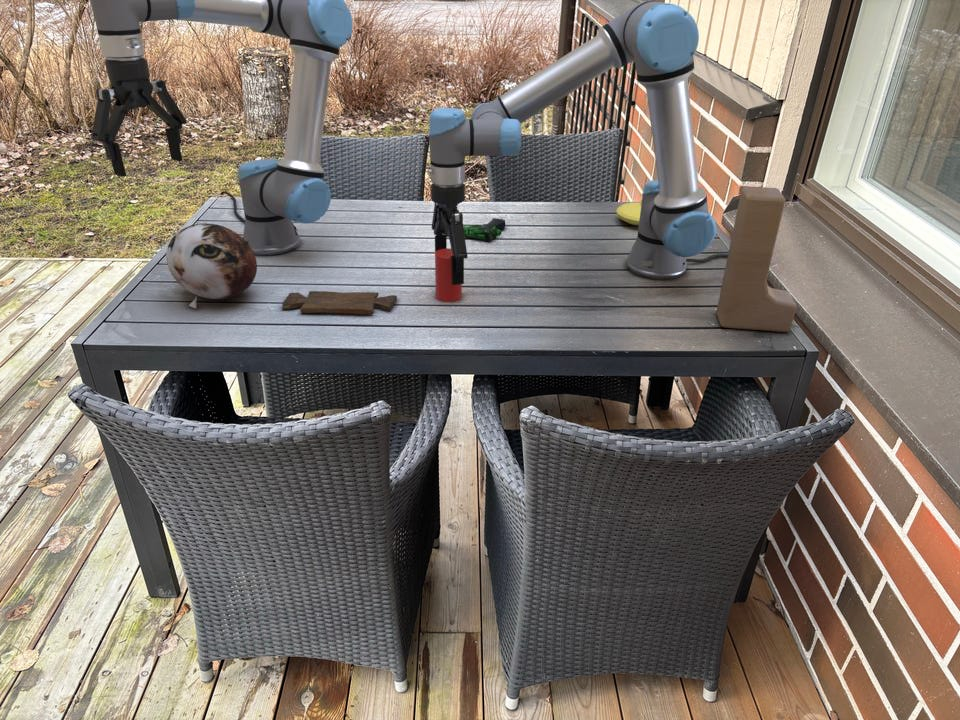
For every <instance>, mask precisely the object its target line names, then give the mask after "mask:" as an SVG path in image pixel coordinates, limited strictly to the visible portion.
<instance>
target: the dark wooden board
mask: <svg viewBox="0 0 960 720" xmlns="http://www.w3.org/2000/svg"><path fill="white" fill-rule="evenodd" d="M379 294H380V293H379V292H375V291H357V292H356V291H354V292H353V291H352V292H351V291H349V292H348V291H347V292H342V291H341V292H340V291H325V290H324V291H323V290H322V291H321V290H320V291H318V290H309V291H308V295H307V296H305V295H303V294H301V293H300V292H289V293H288V295H287V296H286V298H285V299H284V300H283V302H282V305H281V306H282V307H281V309H283V310H293V309H294V310H295V309H298V308H300V309H299V310H300V313H302V314H318V313H331V314H334V313H335V314H355V315H369V314H373V313H374V310H375V309H381V310H384V311H391V310H392V309H393V307H394V306H395V304H396V302H397V301H398V296H397V295H395V294H392V295H386V296H379Z"/></svg>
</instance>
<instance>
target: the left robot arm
mask: <svg viewBox="0 0 960 720" xmlns="http://www.w3.org/2000/svg"><path fill="white" fill-rule="evenodd" d="M89 2H90V6H91V10H92V13H93V18H94V22H95V25H96V30H97V35H98V40H99V45H100V49H101V54H102V56H103V57H105V61H104V65H105V69H106V70H105V71H106V74H107V78H108V80H109V82H110V88H101V87H97V88H96V90H95V93H96V99H97V100H96V101H97V102H96V108H95V113H94V119H93V124H92V131H91V136H90V138H91V140H92V141H94V142H99V143H102V145H103V149H104V151H105V152H104V153H105V157H106V158H107V160H109V161H111V166H112V169H113V174H114V175H115V176H118V177H119V176H120V177H122V178H123V177H127V172H126V169H125V164H124V161H123V155H122V151H121V148H120V144H119V142H116V138H117V136H118V133H119V131H120V129H121V127H122V124H123V122H124V119H125V117H126V116H127V114H128V113H129V112H130V110H137V109H139V108H148V109H149V110H150V111H151V112H152V113H154V114H155V116H157V118H158V119H160V120H161V121H162V122H163V123H164V124H165V125H166V126H167V127H166V128H164V130H165V135H166V140H167V146H168V151H169V155H170V159H171V161H176V162H183V161H184V160H183V156H182V150H181V146H180V144H182V137H181V132H180V130H181V129H183V125H185V124H186V123H187V119H186V117H185V116H184V114H183V112H182V111H181V110H180V108H179V106H178V105H177V103H176V102H175V100H174V99H173V97H172V96H171V94H170V93H169V91H168V88H167V85H166V82H165V80H163V79H159V78H158V79H157V78H154V79H152V81H151V80H150V77H151V74H150V68H149V64H148V59H146V57H144V56H145V55H146V49H145V45H144V41H143V35H142V30H141V25H140V24H141V23H146V22H158V21H183V22H193V23H194V22H195V23H204V24H205V23H206V24H215V25H223V26H235V27H243V28H244V27H245V28H248V30H250V31H252V32H253V33H258V34H259V33H261V34H267V35H271V36H275V37H278V38H282V39H285V40H289V45H288V46H289V48H290V50H291V51H292V52H293V54H294V61H293V69H292V70H293V71H292V80H291V90H290V99H289V109H288V110H289V111H288V118H287V127H286V137H285V138H286V139H285V146H284V156H283V157H282V158H281V159H280V158H263V159H255V160H252V161H251V160H250V161H247V162H244V163H242V164H241V165H239V166H238V168H237V177H238V179H237V181H238V184H239V190H240V196H241V201H242V208H243V212H244V213H243V215H244V218H243V217H242V216H241V215H240V214H239V213H238V209H237V208H238V207H237V199H236V197H235V196H234V195H232V194H231V193H230V192H228V191H225V190H222V191H221V192H220V193H219V195H220V196H223V195H224V194H225V195H227V196H228V197H229V198H231V199H232V198H233V199H232V201H233V202H232V203H233V212H234V215H235V216H236V218H237V219H238V220H240V221H241V222H242V223H244V226H243V228H244V229H243V235H242V237H243V238H244V239H245V240H246V241H249V242H248V244H249V245H250V247H251V248H252V250H253V252H254V254H255V256H256V255H257V256H275V255H281V254H282V255H283V254H285V253H289V252H291V251H293V250H296V249H297V248H298V247H299V246H300V244H301V241H300V235H299V233H298V232H299V231H298V228H297V226H296V225H294V223H293V222H295V223H302V224H313V223H315V222H317V221H319V220H320V219H321V217H324V215H325V214H326V213H327V211H328V209H329V207H330V204H331V200H332V193H331V189H330V188H329V185H328V184H327V182H325V181H324V178H325V177H324V176H325V169H324V168H323V167H322V166H321V164H320V159H321V153H322V142H323V136H324V128H325V127H324V126H325V118H326V110H327V103H328V101H327V100H328V93H329V84H330V76H331V70H332V69H331V68H332V63H333V62H334V61H335V60H336V59H338V58H339V55H340V48H341V47H343V46H344V45H346V44H347V41H349V40H350V38H351V36H352V33H353V17H352V13H351V11H350V8H349V7H348V5H347V2H346V0H89ZM153 92H155V94H156V96H157V97H158V99H159V101H160V102H161V103H162V105H163V106H164V107H165V109H164V108H163V106H162V105H160V103H159V101H158V100H156V99H155V98H154V97H153V96H152V93H153ZM113 99H114V102H113V105H112V100H113ZM111 106H112V107H111ZM111 108H112V111H111ZM110 112H111V113H110Z"/></svg>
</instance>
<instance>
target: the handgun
mask: <svg viewBox="0 0 960 720" xmlns="http://www.w3.org/2000/svg"><path fill="white" fill-rule="evenodd" d="M463 227H464V235H465V238H469V239H470V238H471V239H474V240H479V241H484V242H491V241H492V240H494V239H495V238H497V237H500V236H502V230H504V229H505V228H506V220H505V219H503V218H497V217H492V219H491V220H490V221H489V222H488V223H483V224H482V225H479V224H472V225H463ZM447 233H448V231H447ZM444 235H446V236H449V235H448V234H444Z"/></svg>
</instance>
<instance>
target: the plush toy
mask: <svg viewBox="0 0 960 720" xmlns="http://www.w3.org/2000/svg"><path fill="white" fill-rule="evenodd" d="M248 242H249V241H246V240H245V239H244V238H243V236H242V235H240V234H239V233H238V232H236V231H234V230H233V229H231V228H229V227H226V226H223V225H220V224H215V223H205V222H204V223H195V224H191V225H188V226H186V227H183V228H182V229H180V230H179V231H177V232H176V233H175V234H174V235H173V237H171V239H170V241H169V243H168V245H167V248H166V254H165V260H166V265H167V268H168V271H169V273H170V275H171V276H172V277H173V279H174V280H175V281H176V282H177V284H178V285H180V286H181V287H182V288H183V289H185V290H186V291H187V292H189V293H191V294H194V295H195V298H194V299H193V300H192V302H190V303H189V304H188V306H189V307H191V308H192V309H197V308H198V307H197V298H198V297H201V298H205V299H210V300H226V299H230V298H233V297H236V296H238V295H241V294H242V293H244V292H245V291H247V290H248V289H249V288H250V286H251V285H252V284H253V282H254V280H255V278H256V275H257V271H258V262H257V257H256V254H254V252H253V250H252V248H251V247H250V245H249V244H248Z"/></svg>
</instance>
